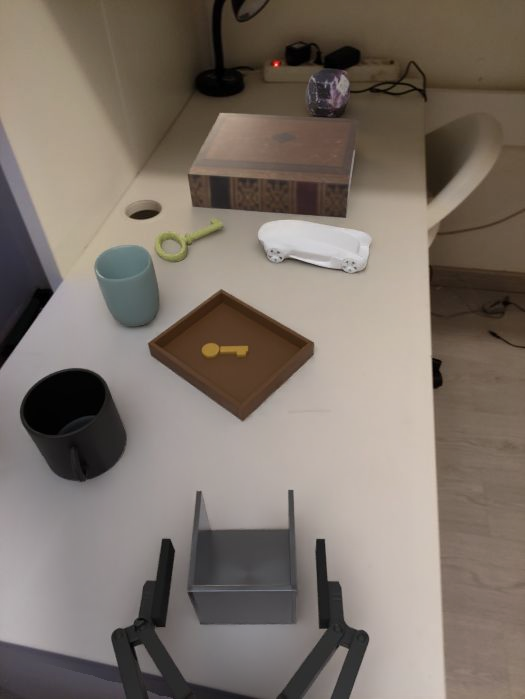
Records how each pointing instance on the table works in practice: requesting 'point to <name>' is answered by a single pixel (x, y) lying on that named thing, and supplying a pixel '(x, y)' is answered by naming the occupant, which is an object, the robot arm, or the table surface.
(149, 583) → the robot arm
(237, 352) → the brass key
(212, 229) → the key
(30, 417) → the mug
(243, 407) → the tray
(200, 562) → the grey open-sided box
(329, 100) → the mineral specimen
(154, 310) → the cup
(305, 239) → the toy car
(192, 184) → the book
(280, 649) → the table surface
